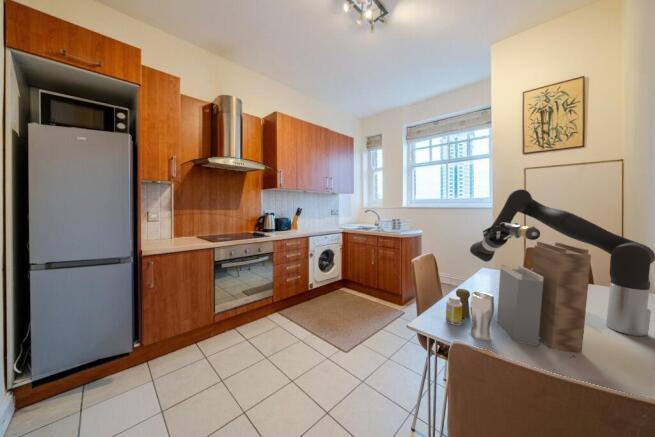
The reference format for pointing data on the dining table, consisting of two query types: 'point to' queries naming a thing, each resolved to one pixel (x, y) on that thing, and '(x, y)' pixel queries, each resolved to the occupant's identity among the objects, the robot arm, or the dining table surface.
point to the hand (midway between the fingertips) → (510, 225)
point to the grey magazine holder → (520, 304)
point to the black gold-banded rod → (521, 231)
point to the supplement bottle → (454, 310)
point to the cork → (464, 301)
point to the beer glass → (481, 314)
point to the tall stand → (562, 294)
